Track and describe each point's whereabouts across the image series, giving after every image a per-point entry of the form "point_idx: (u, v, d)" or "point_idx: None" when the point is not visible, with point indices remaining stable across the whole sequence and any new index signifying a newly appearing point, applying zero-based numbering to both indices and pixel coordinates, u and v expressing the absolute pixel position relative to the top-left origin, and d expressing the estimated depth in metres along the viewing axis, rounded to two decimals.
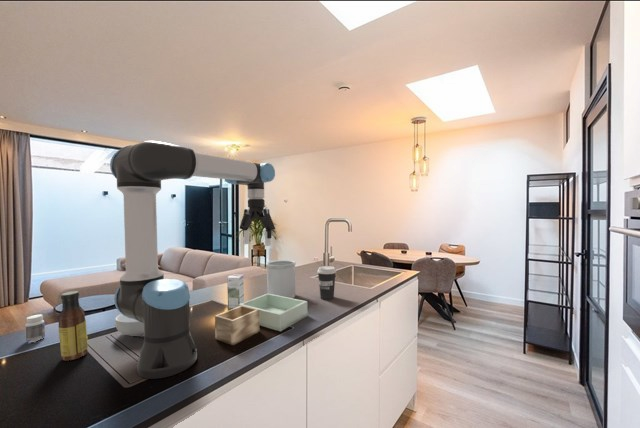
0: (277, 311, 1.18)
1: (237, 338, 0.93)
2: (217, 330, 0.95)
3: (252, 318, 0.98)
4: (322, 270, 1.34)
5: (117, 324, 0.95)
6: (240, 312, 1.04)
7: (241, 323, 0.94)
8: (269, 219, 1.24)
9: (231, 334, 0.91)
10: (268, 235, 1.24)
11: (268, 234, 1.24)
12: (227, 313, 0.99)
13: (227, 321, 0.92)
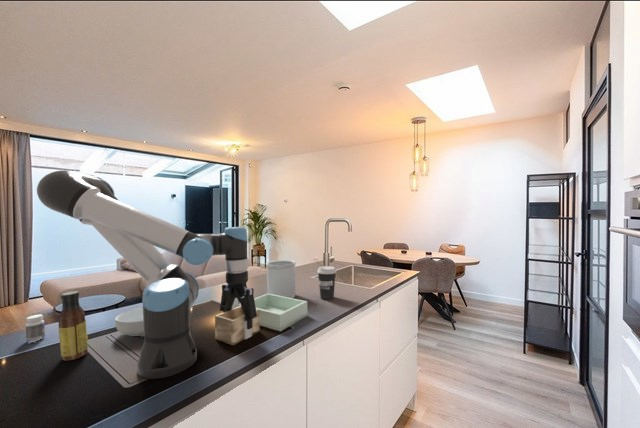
0: (277, 311, 1.18)
1: (237, 338, 0.93)
2: (217, 330, 0.95)
3: None
4: (322, 270, 1.34)
5: (117, 324, 0.95)
6: (240, 312, 1.04)
7: (241, 323, 0.94)
8: (251, 304, 0.94)
9: (231, 334, 0.91)
10: (248, 325, 0.95)
11: (248, 324, 0.95)
12: (227, 313, 0.99)
13: (227, 321, 0.92)
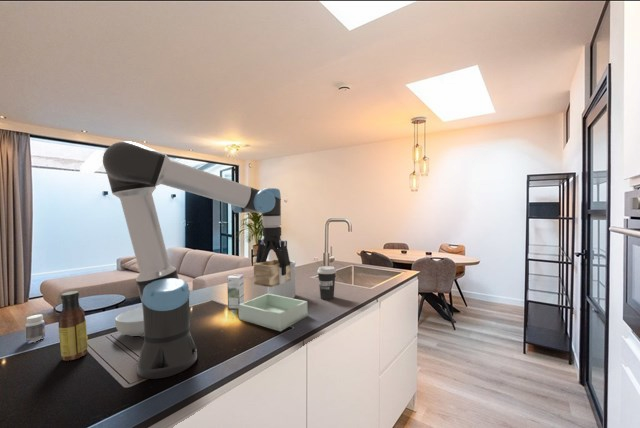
0: (277, 311, 1.18)
1: (274, 282, 1.08)
2: (256, 276, 1.10)
3: None
4: (322, 270, 1.35)
5: (117, 324, 0.95)
6: (273, 265, 1.19)
7: (277, 270, 1.09)
8: (285, 253, 1.10)
9: (269, 278, 1.07)
10: (282, 272, 1.10)
11: (282, 270, 1.10)
12: (263, 263, 1.14)
13: (266, 267, 1.07)
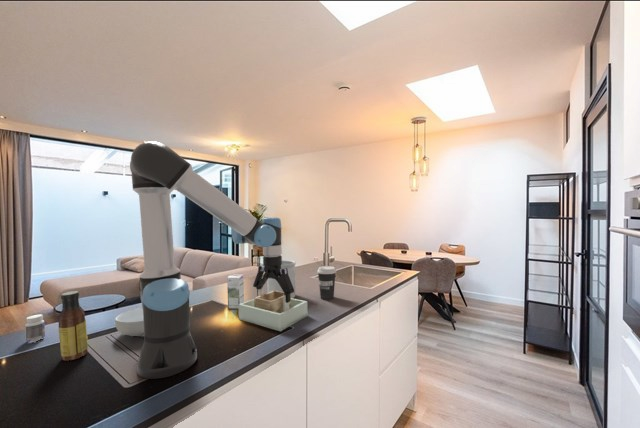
0: None
1: None
2: None
3: None
4: (322, 270, 1.35)
5: (117, 324, 0.95)
6: (273, 296, 1.20)
7: (277, 304, 1.10)
8: (288, 281, 1.09)
9: None
10: (287, 299, 1.09)
11: (287, 298, 1.09)
12: (263, 296, 1.15)
13: (266, 301, 1.08)
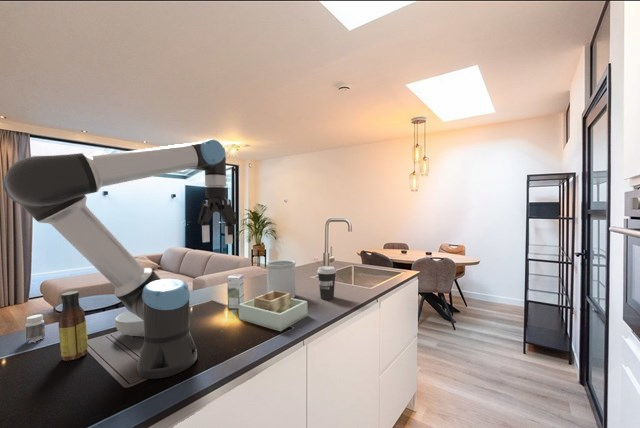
0: None
1: None
2: None
3: (285, 300, 1.14)
4: (322, 270, 1.34)
5: (117, 324, 0.95)
6: (273, 296, 1.20)
7: (277, 304, 1.10)
8: (230, 211, 1.02)
9: None
10: (229, 231, 1.02)
11: (229, 230, 1.02)
12: (263, 296, 1.15)
13: (266, 301, 1.08)
